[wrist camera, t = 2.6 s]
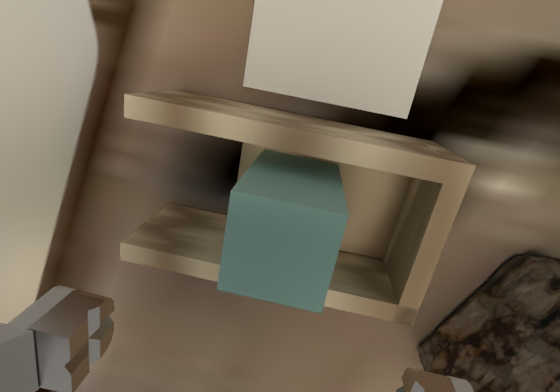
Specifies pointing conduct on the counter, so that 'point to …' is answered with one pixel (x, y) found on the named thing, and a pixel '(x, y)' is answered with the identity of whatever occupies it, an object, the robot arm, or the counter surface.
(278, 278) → the block
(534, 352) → the stone block
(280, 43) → the mat
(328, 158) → the channel
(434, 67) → the counter surface
